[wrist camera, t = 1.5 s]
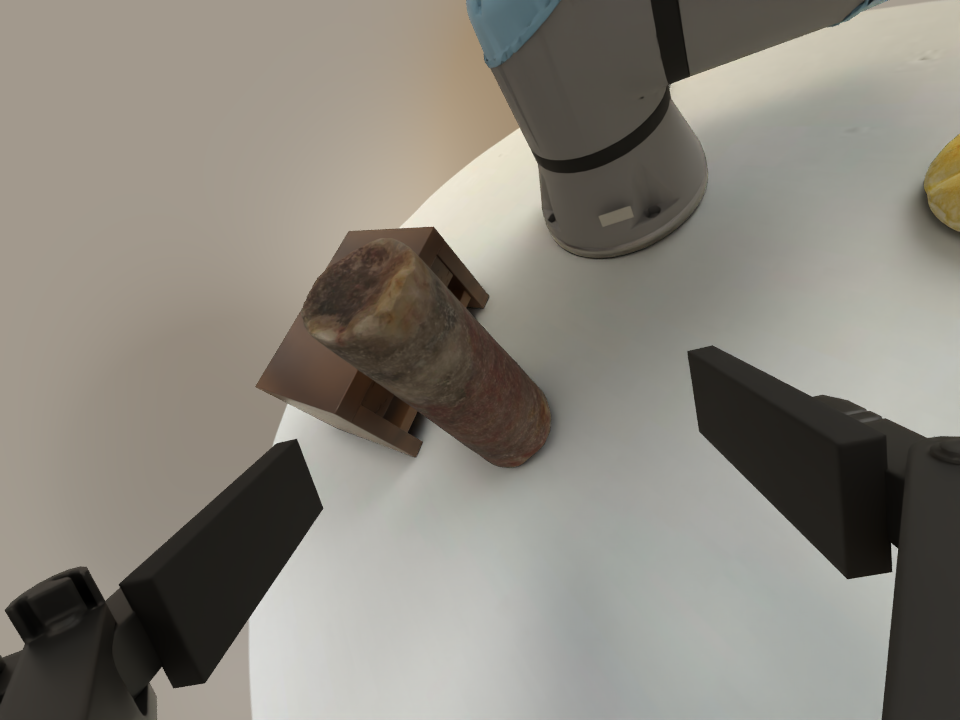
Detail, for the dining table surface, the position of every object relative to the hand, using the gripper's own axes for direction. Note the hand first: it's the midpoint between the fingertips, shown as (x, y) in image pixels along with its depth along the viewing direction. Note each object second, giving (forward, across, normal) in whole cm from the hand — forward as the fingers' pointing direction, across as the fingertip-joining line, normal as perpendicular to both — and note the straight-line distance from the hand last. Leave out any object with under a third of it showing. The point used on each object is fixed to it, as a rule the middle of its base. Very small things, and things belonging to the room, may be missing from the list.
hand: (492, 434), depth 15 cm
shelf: (+32, -11, -4) cm, 34 cm away
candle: (+22, -1, -9) cm, 24 cm away
